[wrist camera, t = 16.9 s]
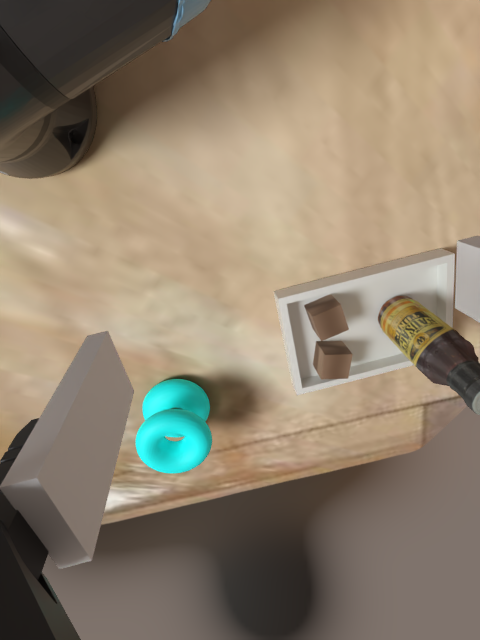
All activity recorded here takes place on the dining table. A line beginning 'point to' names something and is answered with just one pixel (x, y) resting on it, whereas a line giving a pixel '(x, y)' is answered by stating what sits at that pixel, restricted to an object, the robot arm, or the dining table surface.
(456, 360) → the sauce bottle
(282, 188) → the dining table surface
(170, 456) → the donuts
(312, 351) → the tray
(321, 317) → the walnut block
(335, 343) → the walnut block
